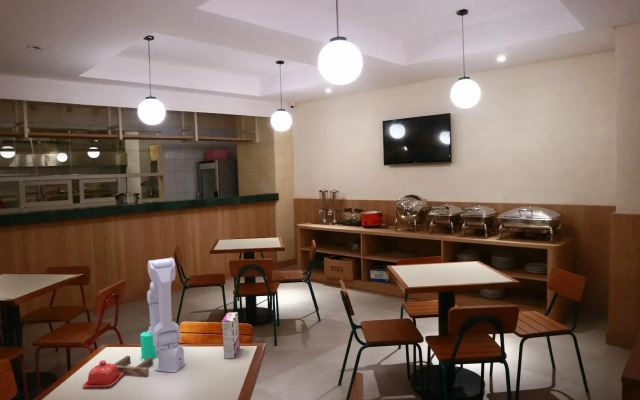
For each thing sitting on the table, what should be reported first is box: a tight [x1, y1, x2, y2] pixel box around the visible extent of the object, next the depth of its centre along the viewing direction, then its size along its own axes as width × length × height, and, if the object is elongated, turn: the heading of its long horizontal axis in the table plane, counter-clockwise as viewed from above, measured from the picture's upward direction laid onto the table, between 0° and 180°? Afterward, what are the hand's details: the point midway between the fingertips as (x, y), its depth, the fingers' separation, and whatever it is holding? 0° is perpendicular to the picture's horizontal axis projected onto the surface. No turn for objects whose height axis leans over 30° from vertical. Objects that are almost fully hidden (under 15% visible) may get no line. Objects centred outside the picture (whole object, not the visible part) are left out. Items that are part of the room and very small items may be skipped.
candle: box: [139, 329, 158, 361], centre depth 197 cm, size 6×6×12 cm
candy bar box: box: [221, 311, 241, 360], centre depth 198 cm, size 11×5×16 cm, turn 179°
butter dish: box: [82, 360, 124, 388], centre depth 175 cm, size 12×12×8 cm
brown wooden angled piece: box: [114, 355, 154, 378], centre depth 186 cm, size 20×10×3 cm, turn 77°
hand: (158, 347), depth 204 cm, fingers closed
